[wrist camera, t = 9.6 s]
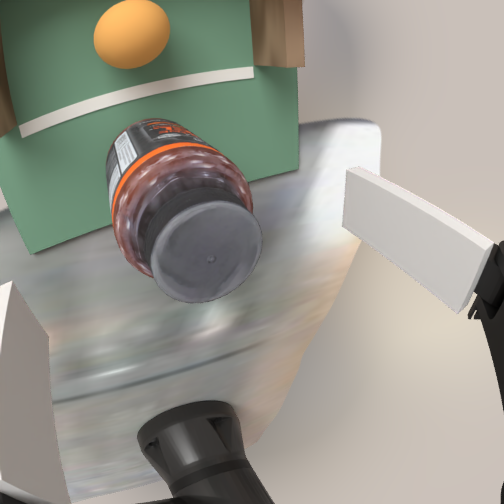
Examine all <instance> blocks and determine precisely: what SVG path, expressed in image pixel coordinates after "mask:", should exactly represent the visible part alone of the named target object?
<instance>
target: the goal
mask: <svg viewBox="0 0 504 504" xmlns="http://www.w3.org/2000/svg"><path fill="white" fill-rule="evenodd" d="M249 6H250V20H251V34H252V48H253V62H254V65H261V66H275V67H286V68H290V67H305V61H304V60H305V57H304V32H303V13H302V0H249ZM16 125H17V121H16V117H15V113H14V109H13V104H12V100H11V95H10V90H9V84H8V79H7V73H6V67H5V60H4V53H3V44H2V35H1V23H0V138H1V137H3V136H4V135H5V134H6V133H8V132H9V131H10V130H11V129H13V128H14V127H15V126H16Z"/></svg>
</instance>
